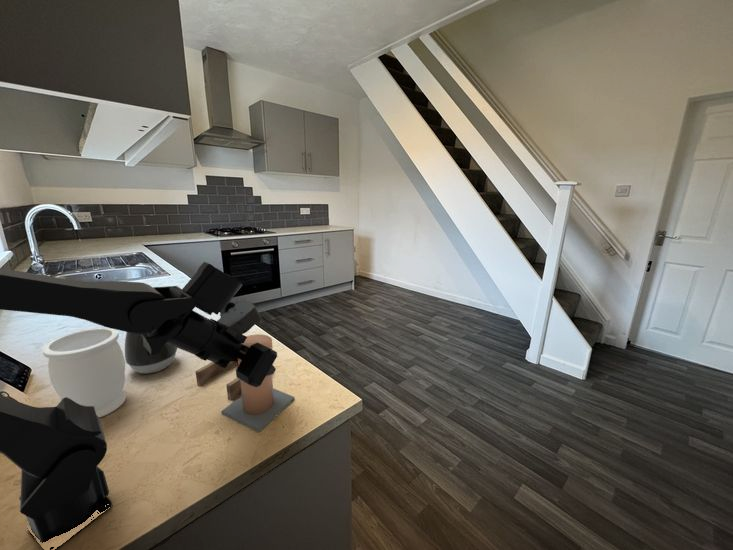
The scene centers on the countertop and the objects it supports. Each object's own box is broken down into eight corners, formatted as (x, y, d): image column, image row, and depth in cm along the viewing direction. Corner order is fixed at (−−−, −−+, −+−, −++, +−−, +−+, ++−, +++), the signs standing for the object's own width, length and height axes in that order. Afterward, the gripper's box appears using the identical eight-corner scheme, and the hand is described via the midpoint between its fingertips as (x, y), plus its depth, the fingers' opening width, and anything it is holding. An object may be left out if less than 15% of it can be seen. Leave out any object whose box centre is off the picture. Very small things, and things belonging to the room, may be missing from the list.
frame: (231, 400, 61) (229, 386, 60) (197, 384, 65) (195, 371, 64) (269, 373, 70) (268, 360, 69) (237, 361, 75) (236, 349, 74)
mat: (259, 432, 53) (258, 429, 53) (221, 413, 57) (221, 410, 57) (294, 399, 62) (294, 396, 61) (259, 385, 66) (259, 382, 66)
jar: (63, 405, 58) (43, 338, 54) (128, 383, 65) (115, 322, 61) (62, 436, 51) (38, 361, 47) (136, 408, 58) (121, 340, 54)
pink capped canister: (249, 421, 54) (243, 355, 51) (235, 403, 59) (228, 341, 55) (281, 404, 59) (278, 343, 55) (266, 388, 64) (262, 331, 60)
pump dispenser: (146, 356, 76) (135, 302, 72) (187, 355, 77) (179, 302, 73) (116, 380, 66) (102, 319, 62) (164, 379, 67) (153, 319, 63)
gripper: (263, 305, 44) (315, 342, 56) (201, 282, 54) (256, 317, 66) (219, 374, 40) (285, 398, 52) (160, 336, 50) (226, 363, 62)
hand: (262, 364), depth 58 cm, fingers open, 7 cm apart
